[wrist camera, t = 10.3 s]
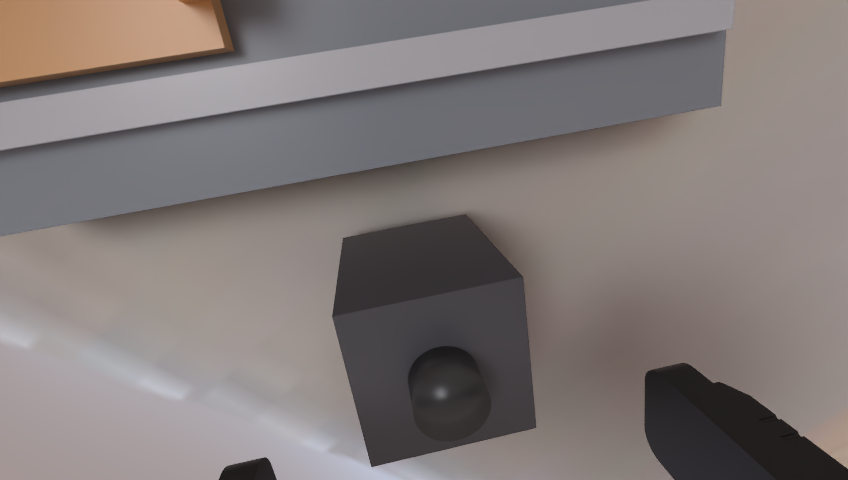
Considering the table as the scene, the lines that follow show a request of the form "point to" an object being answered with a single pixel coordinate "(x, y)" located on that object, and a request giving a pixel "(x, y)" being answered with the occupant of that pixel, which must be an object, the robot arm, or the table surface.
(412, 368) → the plug
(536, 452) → the table surface
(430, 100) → the socket block
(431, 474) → the table surface
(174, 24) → the shutter
